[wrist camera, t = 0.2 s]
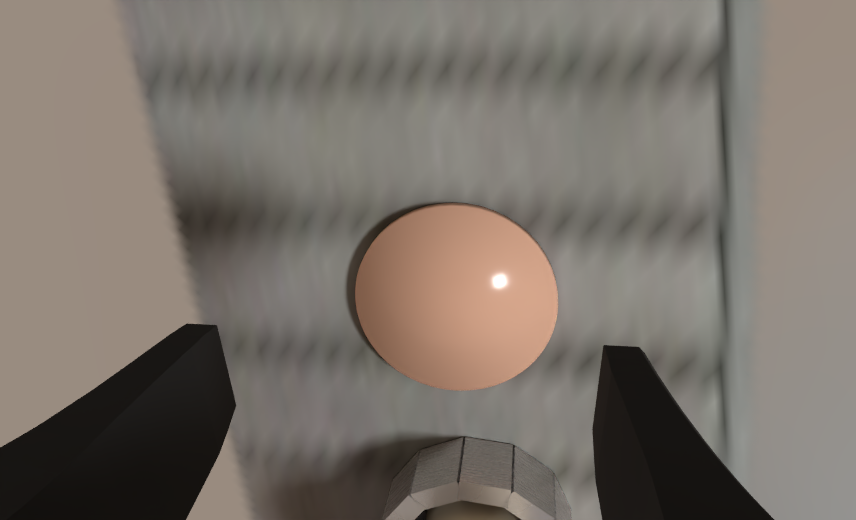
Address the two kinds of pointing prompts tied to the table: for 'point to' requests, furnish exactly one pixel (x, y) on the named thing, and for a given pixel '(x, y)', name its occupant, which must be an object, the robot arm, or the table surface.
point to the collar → (476, 481)
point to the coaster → (456, 296)
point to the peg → (469, 512)
